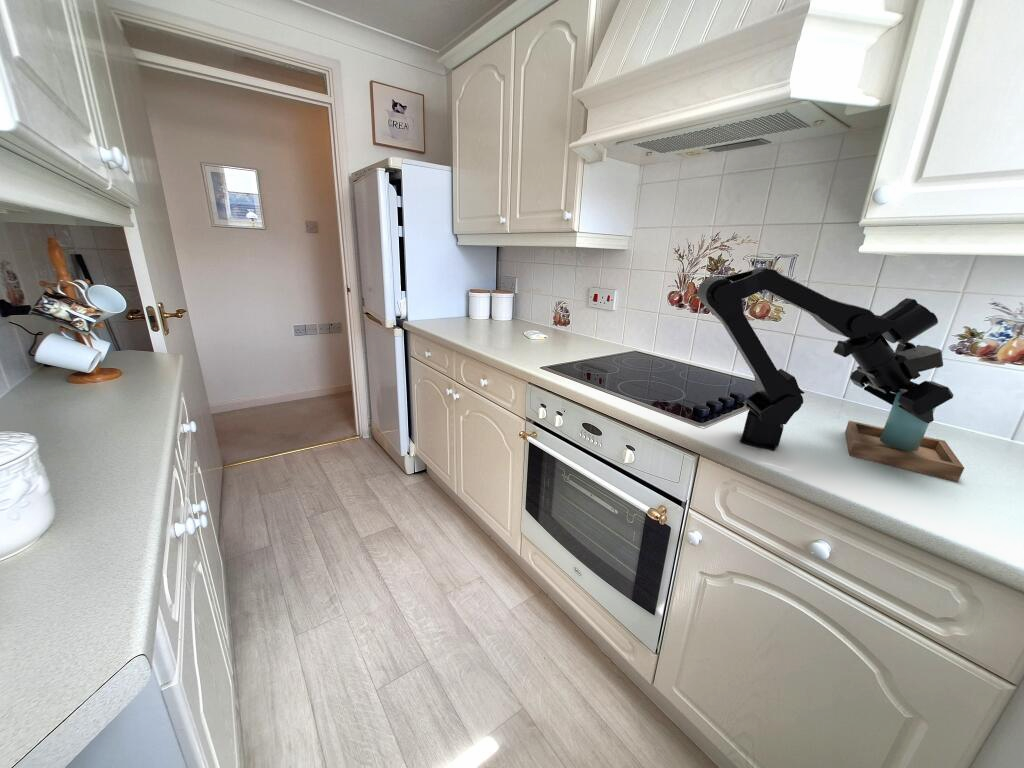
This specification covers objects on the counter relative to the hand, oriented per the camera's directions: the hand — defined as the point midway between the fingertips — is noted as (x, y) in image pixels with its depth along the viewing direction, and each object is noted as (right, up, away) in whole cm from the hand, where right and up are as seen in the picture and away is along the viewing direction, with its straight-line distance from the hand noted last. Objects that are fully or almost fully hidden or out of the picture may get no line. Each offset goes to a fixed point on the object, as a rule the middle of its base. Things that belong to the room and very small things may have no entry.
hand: (917, 415), depth 82 cm
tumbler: (-2, -6, +2) cm, 7 cm away
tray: (-2, -8, +3) cm, 9 cm away
